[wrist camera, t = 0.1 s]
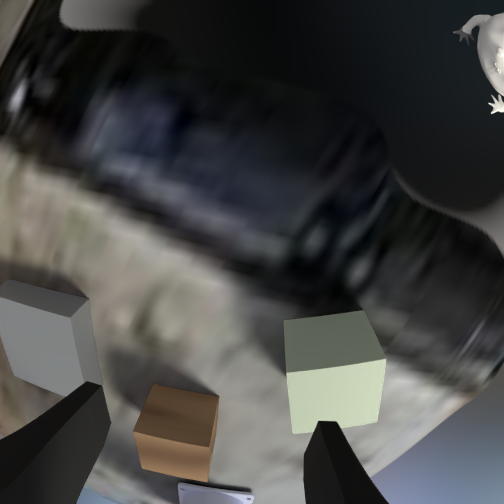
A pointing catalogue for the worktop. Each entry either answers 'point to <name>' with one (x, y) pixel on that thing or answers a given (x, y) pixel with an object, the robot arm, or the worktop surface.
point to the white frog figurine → (489, 50)
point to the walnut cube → (177, 432)
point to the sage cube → (333, 370)
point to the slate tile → (48, 337)
